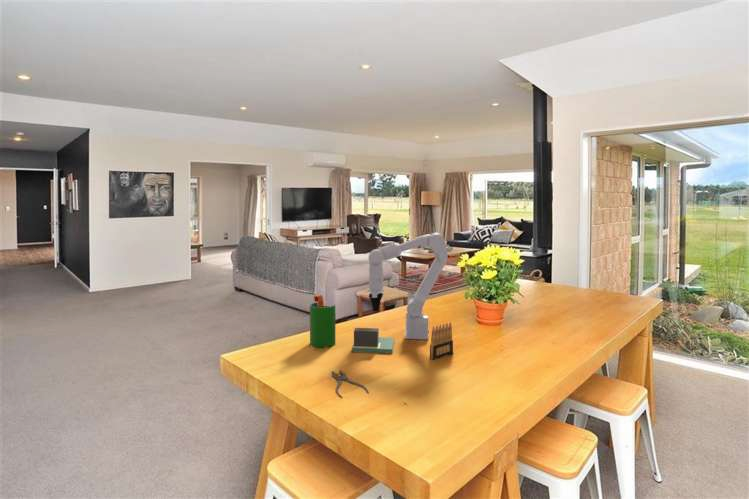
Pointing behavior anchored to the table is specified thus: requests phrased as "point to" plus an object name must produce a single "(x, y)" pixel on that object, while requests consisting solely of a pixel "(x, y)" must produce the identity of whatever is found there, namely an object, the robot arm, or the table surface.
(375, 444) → the table surface
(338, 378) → the pliers
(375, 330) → the block
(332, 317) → the green and brown cylinder
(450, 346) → the ammunition clip
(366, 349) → the header board
